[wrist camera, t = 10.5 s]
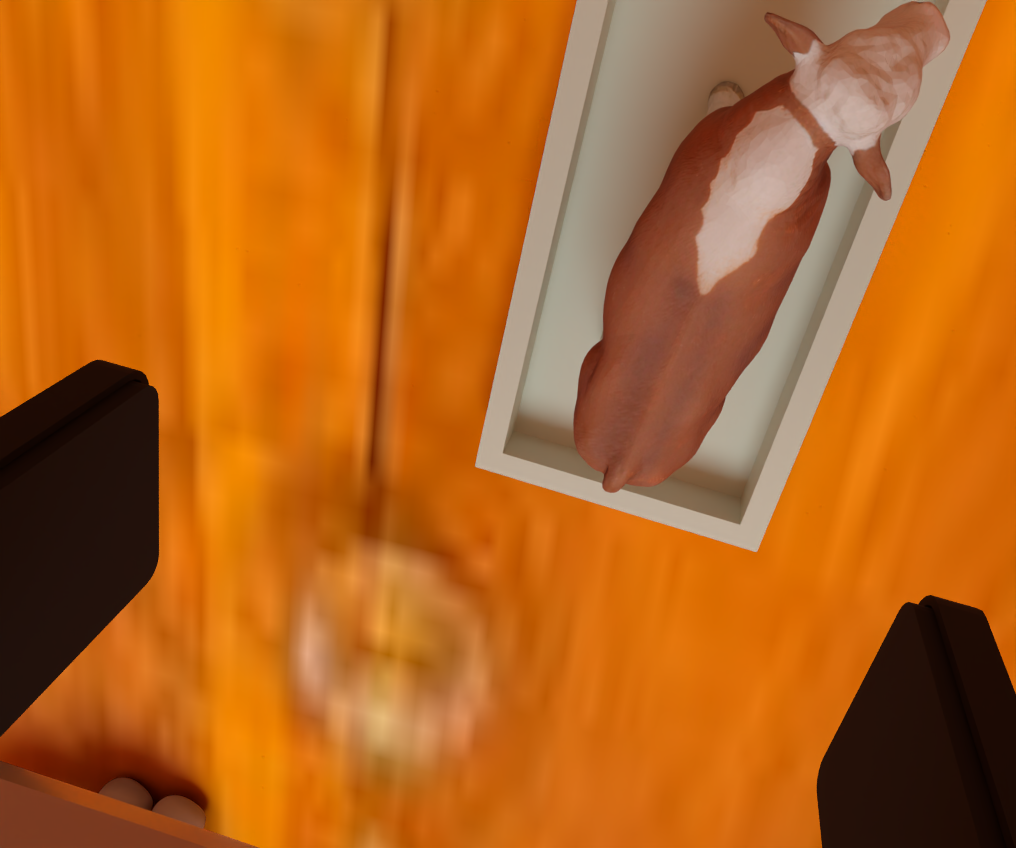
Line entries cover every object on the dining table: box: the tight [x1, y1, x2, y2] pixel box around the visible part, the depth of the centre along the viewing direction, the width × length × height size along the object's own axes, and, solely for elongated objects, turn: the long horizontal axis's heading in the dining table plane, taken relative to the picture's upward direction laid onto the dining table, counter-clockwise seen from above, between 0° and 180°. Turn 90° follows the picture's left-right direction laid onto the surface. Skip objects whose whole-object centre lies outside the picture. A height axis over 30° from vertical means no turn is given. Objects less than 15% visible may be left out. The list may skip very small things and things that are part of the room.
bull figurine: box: [573, 1, 950, 493], centre depth 23 cm, size 4×13×8 cm, turn 155°
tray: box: [475, 0, 987, 552], centre depth 26 cm, size 19×10×2 cm, turn 168°
